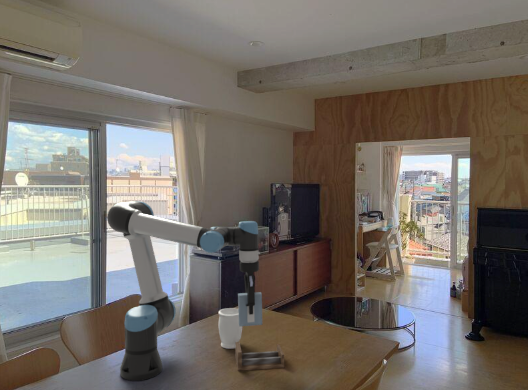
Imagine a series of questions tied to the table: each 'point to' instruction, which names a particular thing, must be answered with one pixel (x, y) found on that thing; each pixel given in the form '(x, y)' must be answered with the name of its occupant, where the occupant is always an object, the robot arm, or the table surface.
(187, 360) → the table surface
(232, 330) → the jar
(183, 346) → the table surface
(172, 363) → the table surface
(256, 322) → the blue-gray rectangular block
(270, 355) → the wooden rod frame
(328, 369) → the table surface
